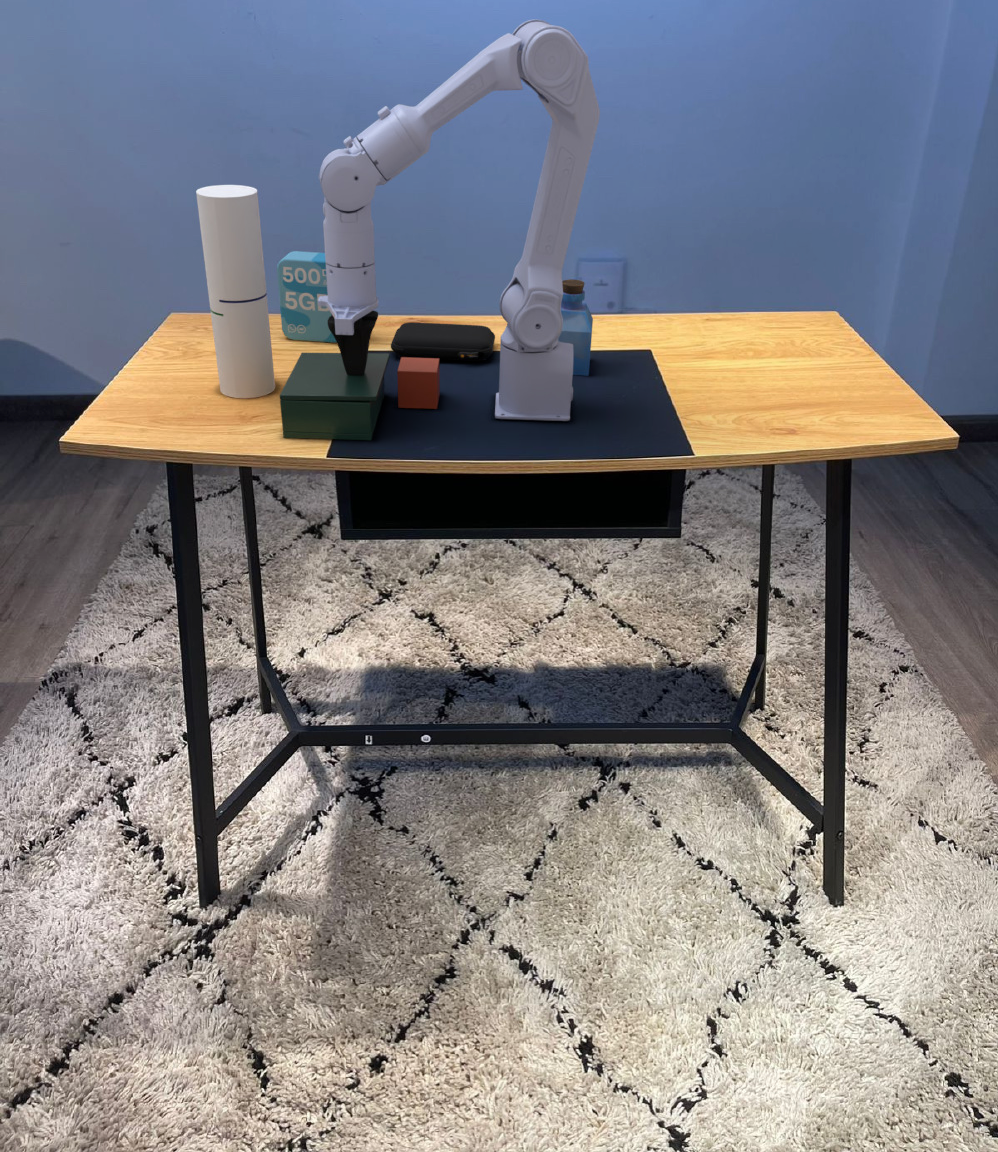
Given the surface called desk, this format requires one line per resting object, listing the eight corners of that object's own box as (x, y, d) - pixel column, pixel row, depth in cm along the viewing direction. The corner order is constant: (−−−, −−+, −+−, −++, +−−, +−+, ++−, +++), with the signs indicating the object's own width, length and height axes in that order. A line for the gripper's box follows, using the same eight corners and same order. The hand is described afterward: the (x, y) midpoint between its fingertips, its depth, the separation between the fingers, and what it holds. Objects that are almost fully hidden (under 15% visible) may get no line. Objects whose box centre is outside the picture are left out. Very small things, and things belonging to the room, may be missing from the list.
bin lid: (389, 357, 132) (389, 353, 132) (376, 401, 120) (376, 396, 120) (302, 356, 132) (301, 352, 132) (279, 399, 120) (279, 395, 120)
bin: (384, 394, 135) (383, 359, 132) (371, 440, 123) (369, 403, 120) (304, 392, 135) (302, 357, 132) (283, 437, 123) (279, 400, 120)
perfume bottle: (589, 360, 148) (596, 277, 142) (588, 375, 143) (595, 290, 137) (547, 357, 149) (551, 275, 142) (544, 372, 143) (549, 287, 137)
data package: (282, 339, 152) (275, 258, 146) (291, 329, 156) (285, 250, 149) (361, 345, 151) (357, 263, 144) (368, 335, 155) (365, 255, 148)
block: (439, 394, 136) (439, 358, 133) (437, 409, 131) (436, 372, 129) (401, 393, 136) (401, 357, 133) (398, 407, 131) (397, 370, 129)
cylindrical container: (262, 400, 132) (242, 199, 119) (210, 395, 133) (185, 194, 120) (283, 381, 138) (266, 187, 125) (233, 375, 139) (211, 183, 126)
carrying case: (388, 363, 145) (491, 368, 144) (387, 342, 143) (492, 347, 143) (398, 338, 154) (495, 342, 153) (397, 318, 152) (495, 322, 152)
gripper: (325, 244, 125) (332, 351, 132) (304, 278, 112) (313, 394, 120) (383, 246, 125) (387, 353, 132) (368, 280, 112) (373, 396, 120)
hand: (355, 373), depth 126 cm, fingers closed
